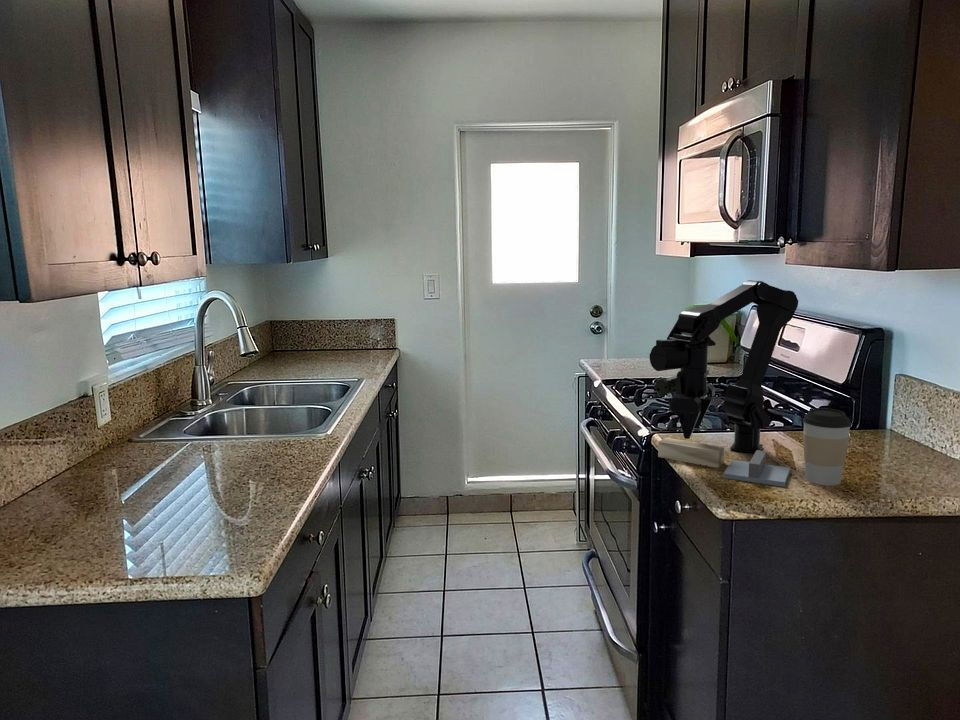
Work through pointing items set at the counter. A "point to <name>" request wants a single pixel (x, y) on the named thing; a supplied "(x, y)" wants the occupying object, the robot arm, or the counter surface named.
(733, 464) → the ridge stand
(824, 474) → the coffee cup
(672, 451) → the ash bar
